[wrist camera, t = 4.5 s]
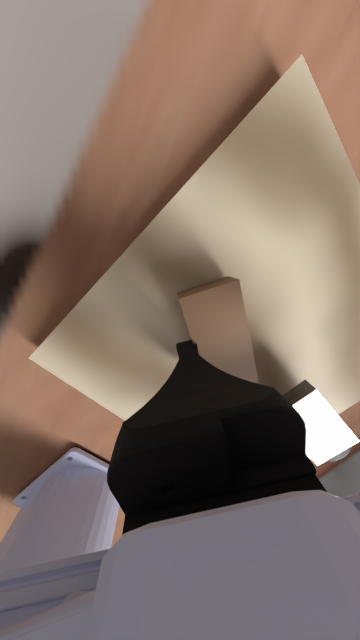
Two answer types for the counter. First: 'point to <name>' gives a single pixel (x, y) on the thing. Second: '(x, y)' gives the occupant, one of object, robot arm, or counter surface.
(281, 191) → the board
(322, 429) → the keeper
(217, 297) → the link
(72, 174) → the counter surface
